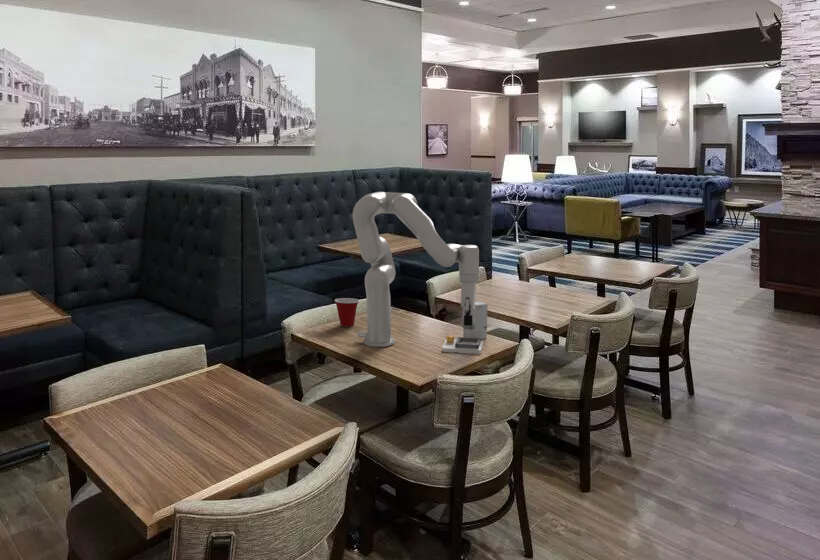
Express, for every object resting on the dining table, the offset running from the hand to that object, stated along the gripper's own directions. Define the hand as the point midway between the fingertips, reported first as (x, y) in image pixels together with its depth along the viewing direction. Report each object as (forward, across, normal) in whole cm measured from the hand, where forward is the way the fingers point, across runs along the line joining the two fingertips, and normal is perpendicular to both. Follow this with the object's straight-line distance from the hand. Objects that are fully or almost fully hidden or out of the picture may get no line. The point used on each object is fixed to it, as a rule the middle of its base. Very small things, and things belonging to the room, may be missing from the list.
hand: (468, 322), depth 244 cm
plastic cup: (+10, -23, -56) cm, 62 cm away
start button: (+9, -2, -8) cm, 12 cm away
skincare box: (+11, -14, +1) cm, 18 cm away
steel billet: (+2, 0, 0) cm, 2 cm away
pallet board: (+10, 0, -2) cm, 11 cm away
